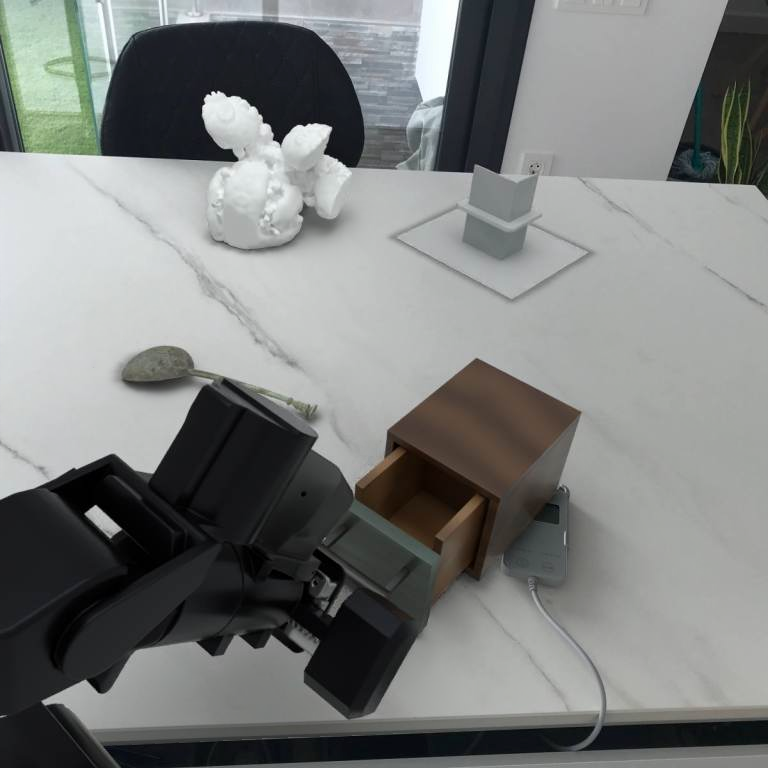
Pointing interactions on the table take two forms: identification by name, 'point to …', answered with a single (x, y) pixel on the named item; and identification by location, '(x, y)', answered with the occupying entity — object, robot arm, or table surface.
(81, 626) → the robot arm
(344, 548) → the drawer
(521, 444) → the cabinet
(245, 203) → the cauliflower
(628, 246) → the table surface
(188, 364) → the soupspoon
